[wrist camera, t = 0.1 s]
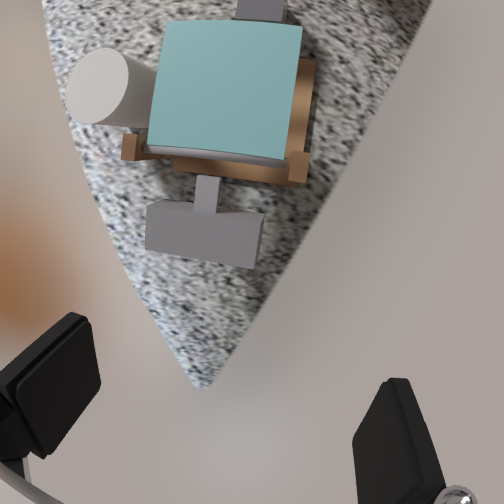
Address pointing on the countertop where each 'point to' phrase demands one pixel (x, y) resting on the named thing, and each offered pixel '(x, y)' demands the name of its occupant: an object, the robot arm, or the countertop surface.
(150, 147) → the trapdoor
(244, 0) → the grey block
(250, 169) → the frame
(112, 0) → the countertop surface
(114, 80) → the cup
